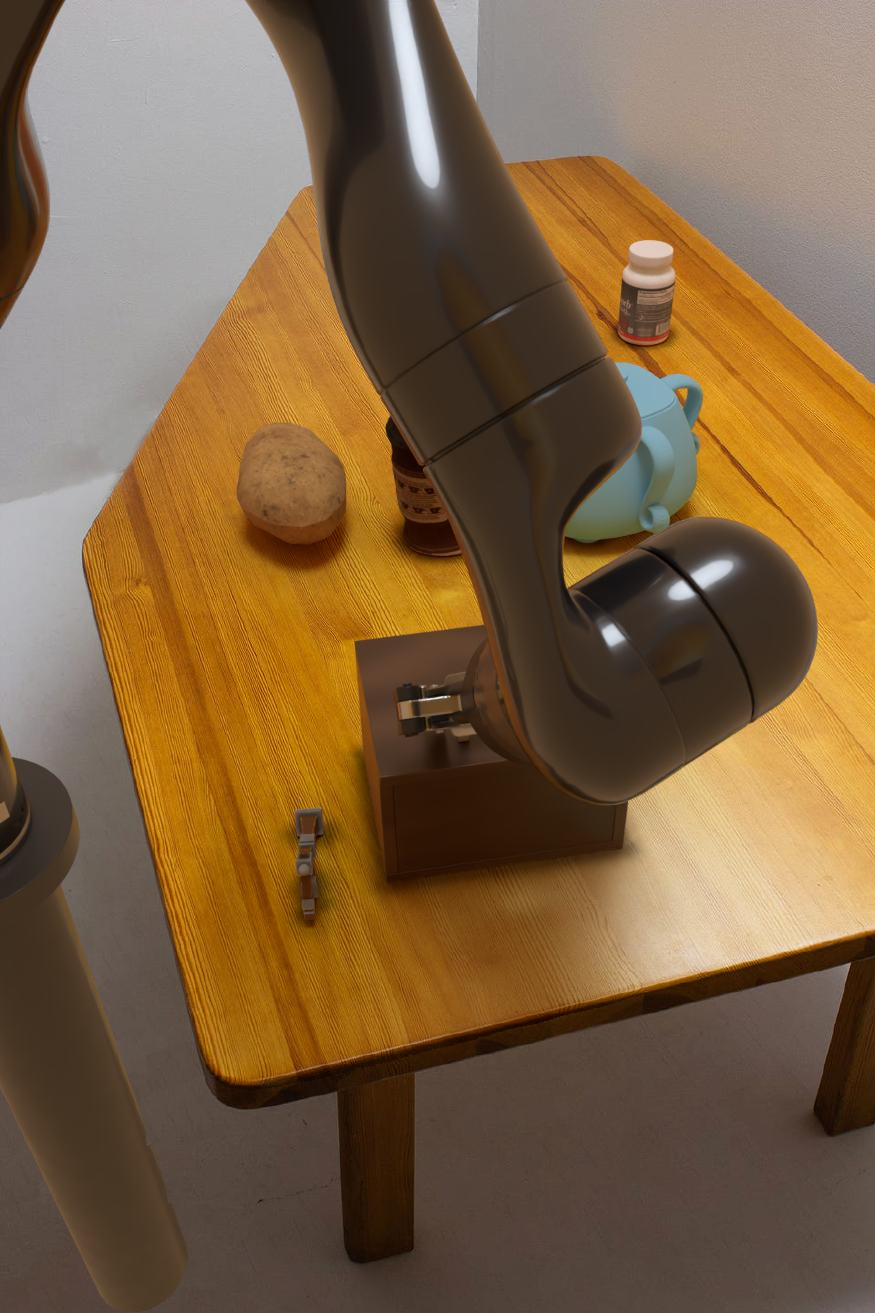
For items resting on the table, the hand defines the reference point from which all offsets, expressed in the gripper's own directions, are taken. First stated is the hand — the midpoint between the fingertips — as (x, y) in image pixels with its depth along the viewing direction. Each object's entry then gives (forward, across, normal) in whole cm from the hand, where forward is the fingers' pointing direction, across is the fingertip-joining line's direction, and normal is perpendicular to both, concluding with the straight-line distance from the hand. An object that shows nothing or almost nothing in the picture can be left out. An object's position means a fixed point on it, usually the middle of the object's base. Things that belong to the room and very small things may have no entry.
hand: (499, 702), depth 73 cm
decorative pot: (+34, -17, -17) cm, 41 cm away
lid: (+3, 0, 0) cm, 3 cm away
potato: (+35, +10, -18) cm, 41 cm away
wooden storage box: (+10, 0, +6) cm, 12 cm away
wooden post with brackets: (+8, +12, +9) cm, 17 cm away
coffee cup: (+32, -2, -16) cm, 36 cm away
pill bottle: (+56, -31, -40) cm, 76 cm away
